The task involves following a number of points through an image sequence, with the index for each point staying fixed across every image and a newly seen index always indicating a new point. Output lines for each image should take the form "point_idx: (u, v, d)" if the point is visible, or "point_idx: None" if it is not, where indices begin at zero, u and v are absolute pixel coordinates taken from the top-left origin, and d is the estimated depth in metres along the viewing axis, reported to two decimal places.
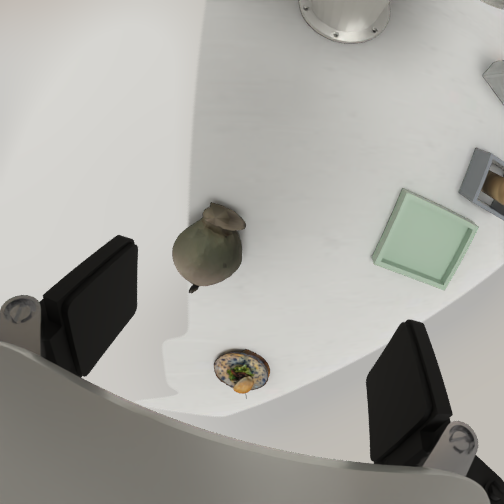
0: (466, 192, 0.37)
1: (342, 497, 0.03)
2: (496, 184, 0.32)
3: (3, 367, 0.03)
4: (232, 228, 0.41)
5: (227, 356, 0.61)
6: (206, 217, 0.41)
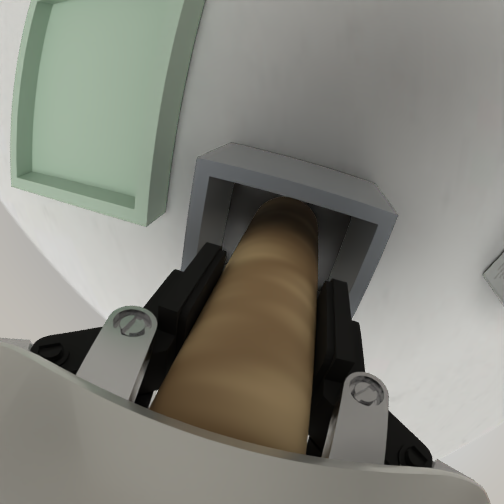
0: (233, 151, 0.13)
1: (341, 497, 0.03)
2: (286, 250, 0.11)
3: (3, 366, 0.03)
4: None
5: None
6: None
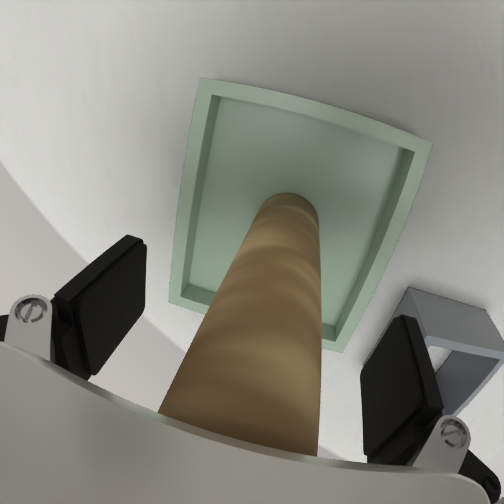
0: (425, 309, 0.17)
1: (341, 497, 0.03)
2: (292, 239, 0.12)
3: (3, 366, 0.03)
4: None
5: None
6: None
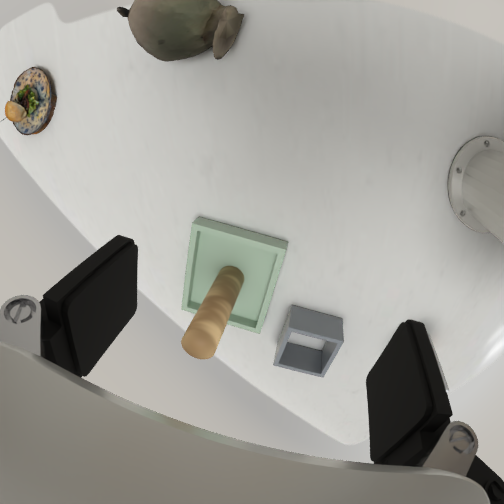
0: (295, 315, 0.42)
1: (341, 497, 0.03)
2: (222, 292, 0.36)
3: (3, 367, 0.03)
4: (214, 43, 0.24)
5: (44, 78, 0.34)
6: (226, 10, 0.23)
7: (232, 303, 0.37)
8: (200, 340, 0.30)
